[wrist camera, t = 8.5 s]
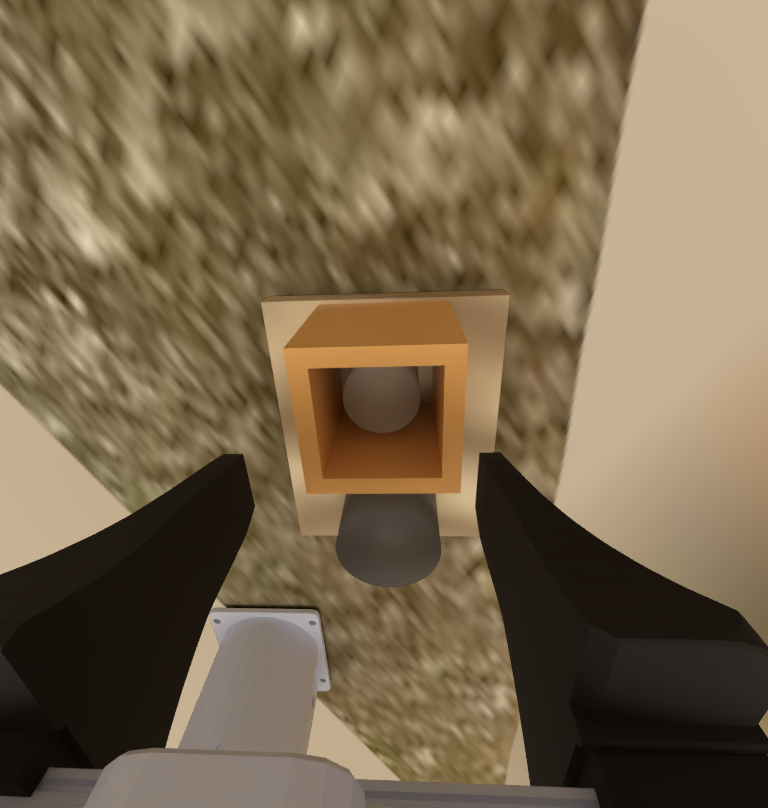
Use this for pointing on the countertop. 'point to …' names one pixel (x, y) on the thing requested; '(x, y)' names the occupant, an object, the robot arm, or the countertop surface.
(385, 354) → the sleeve
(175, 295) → the countertop surface
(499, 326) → the fitting board
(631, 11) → the countertop surface
